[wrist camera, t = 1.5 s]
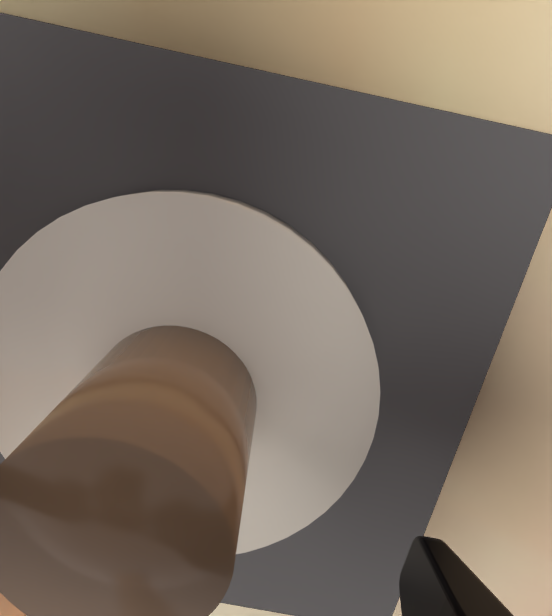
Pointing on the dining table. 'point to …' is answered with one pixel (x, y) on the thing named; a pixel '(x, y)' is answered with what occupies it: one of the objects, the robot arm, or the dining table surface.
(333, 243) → the trivet
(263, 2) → the dining table surface
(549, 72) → the dining table surface
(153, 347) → the lid
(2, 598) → the bowl
